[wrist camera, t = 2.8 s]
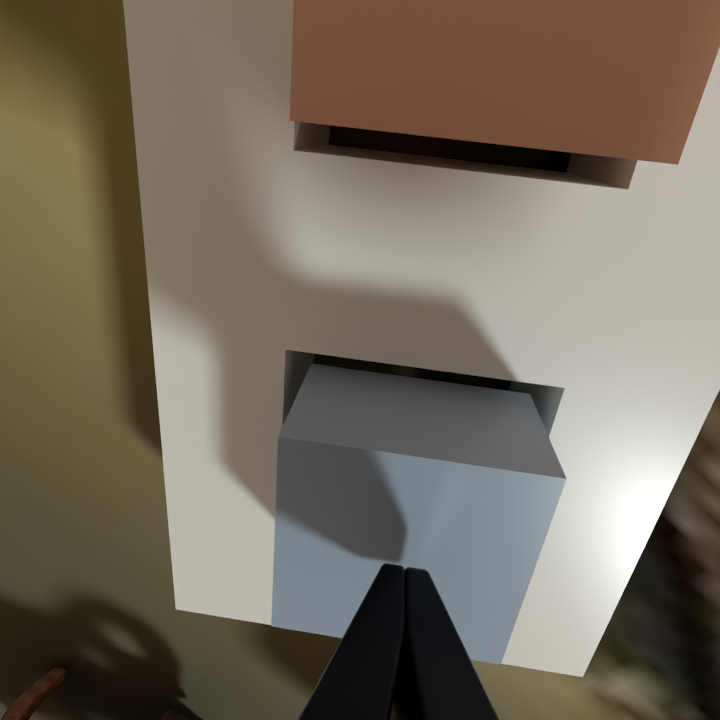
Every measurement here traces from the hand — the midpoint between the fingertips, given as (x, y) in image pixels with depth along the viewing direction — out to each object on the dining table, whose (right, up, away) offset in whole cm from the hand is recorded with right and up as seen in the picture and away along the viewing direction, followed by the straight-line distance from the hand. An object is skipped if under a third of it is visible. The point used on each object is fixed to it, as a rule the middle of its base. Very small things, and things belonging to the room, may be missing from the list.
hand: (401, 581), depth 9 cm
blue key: (0, +1, +3) cm, 3 cm away
